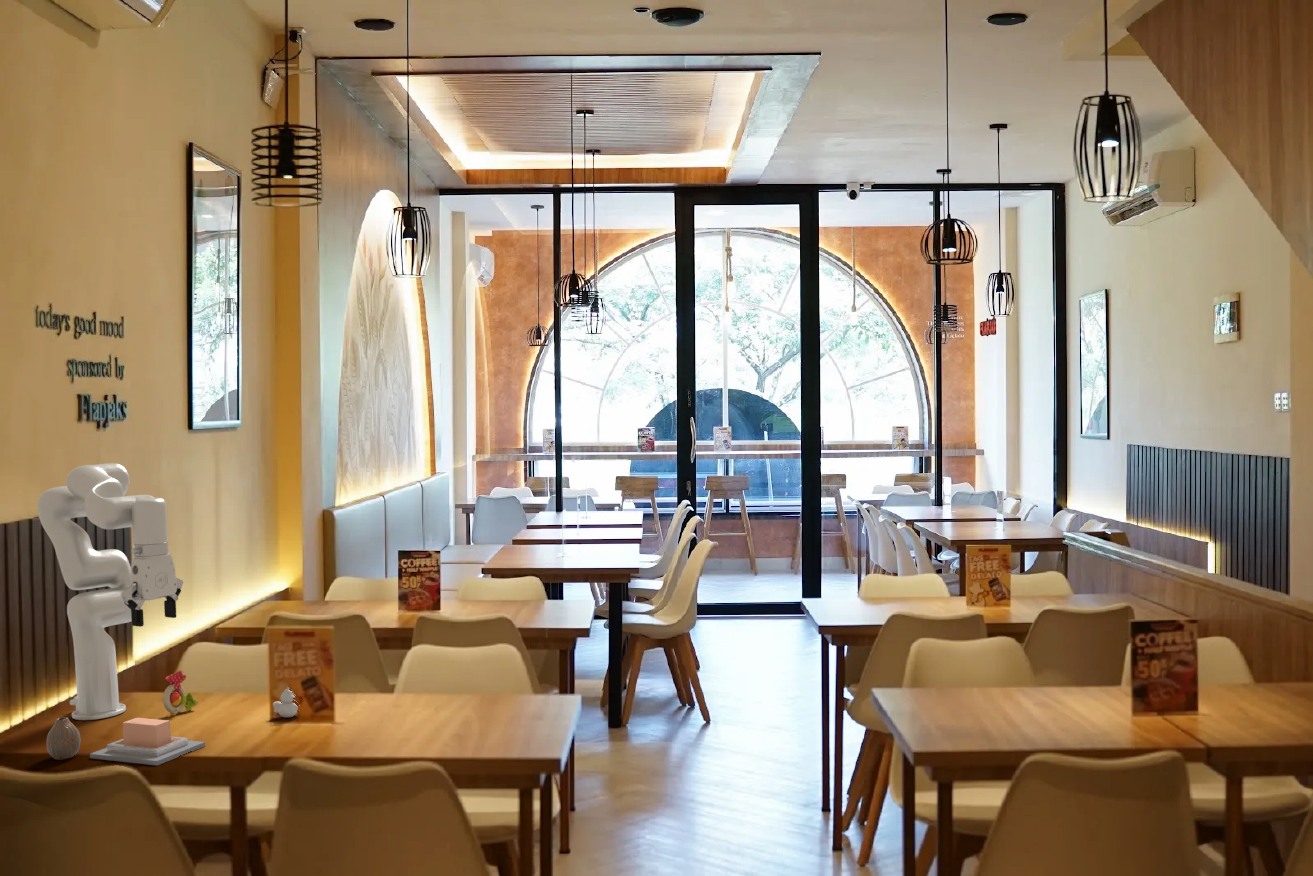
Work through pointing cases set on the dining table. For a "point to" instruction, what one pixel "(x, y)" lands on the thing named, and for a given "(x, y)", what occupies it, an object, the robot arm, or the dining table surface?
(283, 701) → the rubber duck
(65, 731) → the vase
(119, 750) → the board
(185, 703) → the bird rattle
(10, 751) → the dining table surface
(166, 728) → the keyed block
